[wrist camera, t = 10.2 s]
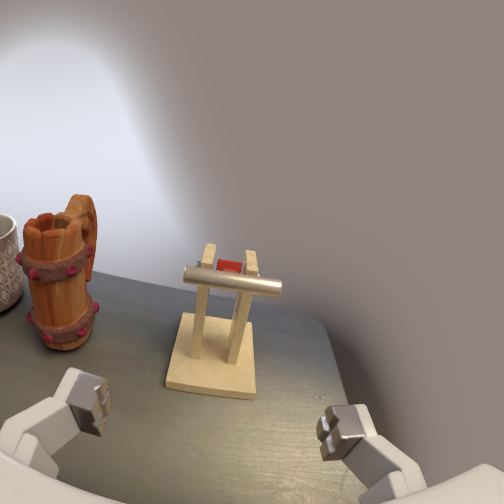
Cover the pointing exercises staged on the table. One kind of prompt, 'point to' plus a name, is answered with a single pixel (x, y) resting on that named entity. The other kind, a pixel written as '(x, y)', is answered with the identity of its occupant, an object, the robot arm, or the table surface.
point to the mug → (61, 272)
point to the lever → (231, 279)
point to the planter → (9, 264)
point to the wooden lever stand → (216, 344)
